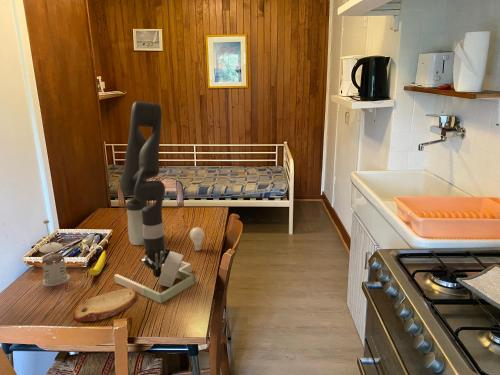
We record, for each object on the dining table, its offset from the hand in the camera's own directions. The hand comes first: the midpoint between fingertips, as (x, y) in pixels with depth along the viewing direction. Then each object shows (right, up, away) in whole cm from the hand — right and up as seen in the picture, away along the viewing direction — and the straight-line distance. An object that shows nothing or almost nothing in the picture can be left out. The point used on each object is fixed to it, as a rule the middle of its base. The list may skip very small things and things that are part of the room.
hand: (157, 276), depth 145 cm
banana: (-26, -1, +11) cm, 29 cm away
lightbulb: (+11, +5, +29) cm, 31 cm away
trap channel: (0, -2, +4) cm, 4 cm away
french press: (-41, -3, +6) cm, 42 cm away
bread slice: (-14, -8, -13) cm, 21 cm away
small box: (+3, -2, +1) cm, 4 cm away
